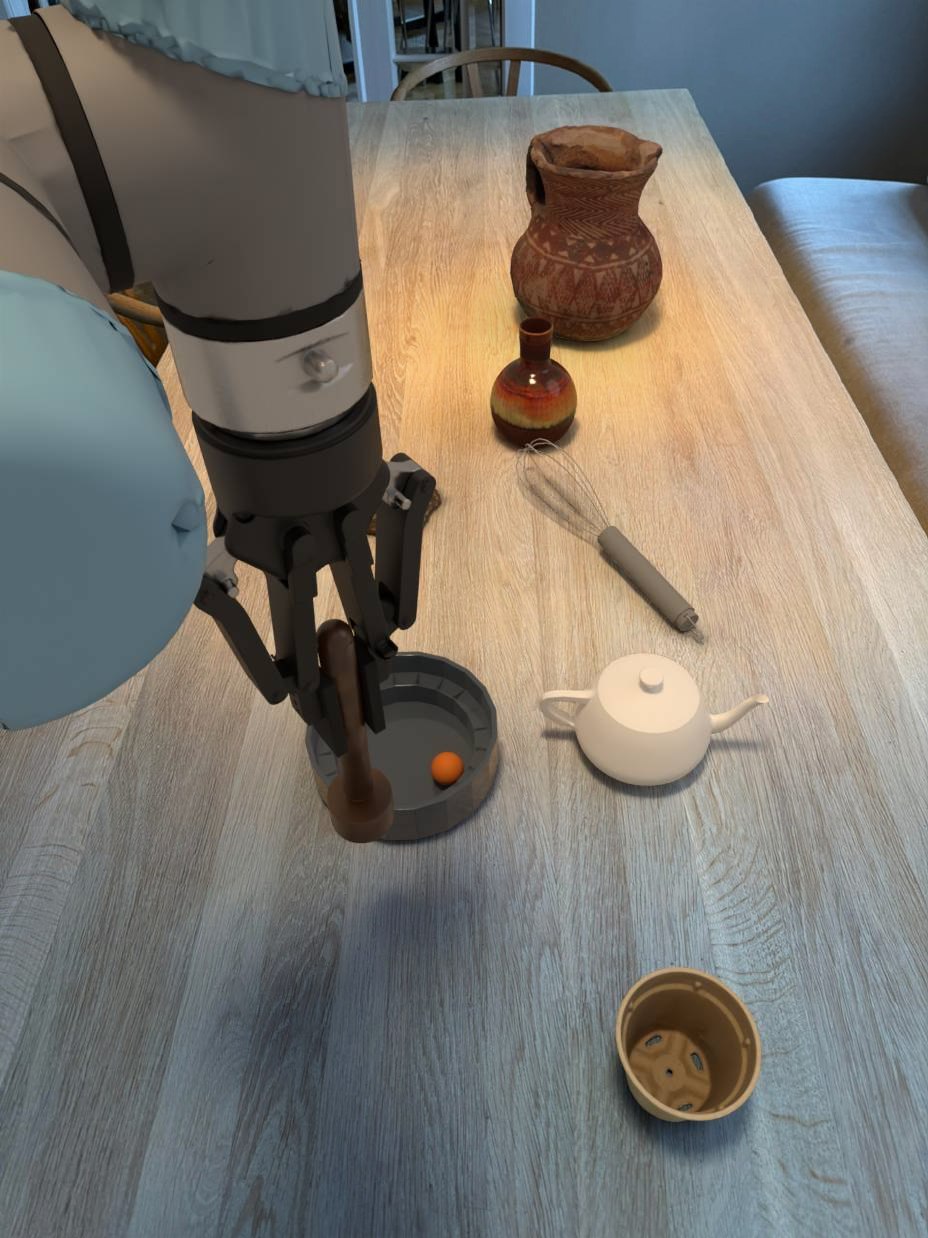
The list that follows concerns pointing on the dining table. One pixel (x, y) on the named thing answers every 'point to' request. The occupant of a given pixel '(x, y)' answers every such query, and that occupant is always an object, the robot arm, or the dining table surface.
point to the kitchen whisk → (627, 556)
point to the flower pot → (687, 1045)
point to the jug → (587, 232)
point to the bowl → (425, 744)
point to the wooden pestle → (353, 745)
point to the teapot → (643, 719)
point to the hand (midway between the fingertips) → (349, 728)
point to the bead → (447, 768)
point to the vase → (533, 391)
